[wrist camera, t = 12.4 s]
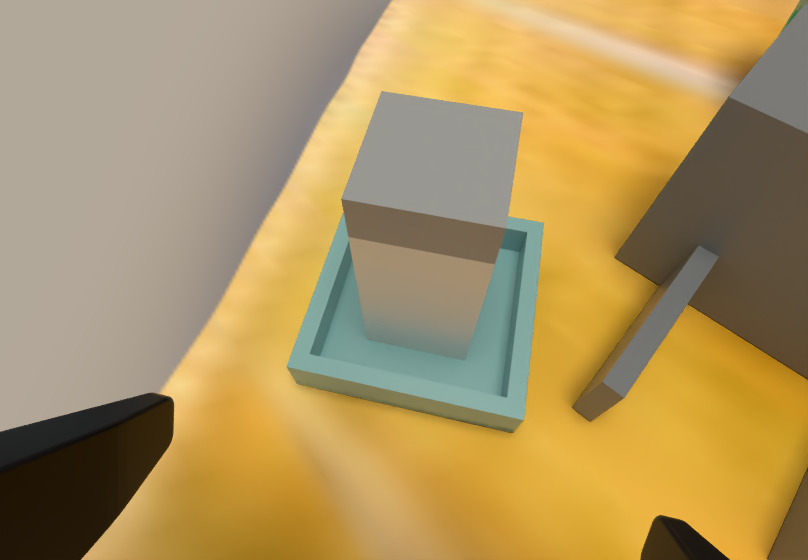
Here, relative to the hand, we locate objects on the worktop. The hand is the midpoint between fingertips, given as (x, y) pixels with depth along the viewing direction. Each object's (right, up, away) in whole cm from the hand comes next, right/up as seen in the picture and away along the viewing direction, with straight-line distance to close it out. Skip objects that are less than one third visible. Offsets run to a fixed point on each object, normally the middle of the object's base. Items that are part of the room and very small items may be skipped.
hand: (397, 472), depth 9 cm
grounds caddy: (+1, +2, +16) cm, 16 cm away
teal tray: (+1, +2, +17) cm, 17 cm away
